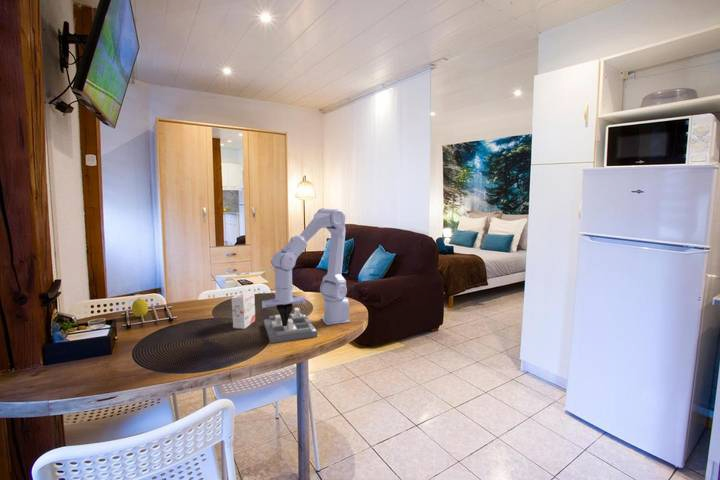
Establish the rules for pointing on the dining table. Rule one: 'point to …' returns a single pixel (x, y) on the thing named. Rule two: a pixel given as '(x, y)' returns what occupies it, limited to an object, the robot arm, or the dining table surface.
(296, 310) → the tab
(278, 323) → the tab
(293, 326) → the tab
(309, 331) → the switch panel
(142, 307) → the lemon
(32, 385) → the dining table surface
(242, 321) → the ink cartridge box
